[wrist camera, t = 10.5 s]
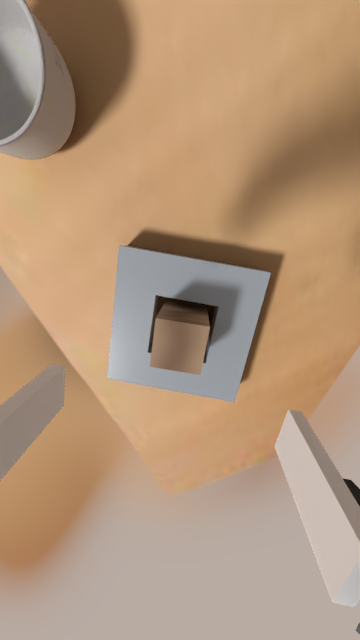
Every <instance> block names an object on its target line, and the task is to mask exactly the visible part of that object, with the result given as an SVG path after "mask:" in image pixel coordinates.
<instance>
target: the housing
mask: <svg viewBox="0 0 360 640" xmlns="http://www.w3.org/2000/svg"><path fill="white" fill-rule="evenodd" d="M270 275H271V273H270V272H268V271H265V270H260V269H255V268H249V267H244V266H238V265H232V264H227V263H221V262H216V261H210V260H204V259H199V258H193V257H188V256H182V255H177V254H171V253H165V252H160V251H154V250H149V249H143V248H138V247H132V246H119V254H118V265H117V276H116V287H115V298H114V310H113V321H112V332H111V343H110V355H109V366H108V377H107V379H112V380H117V381H123V382H128V383H134V384H139V385H144V386H150V387H155V388H160V389H166V390H171V391H176V392H182V393H187V394H192V395H198V396H203V397H208V398H214V399H219V400H225V401H230V402H235V399H236V395H237V392H238V388H239V385H240V381H241V378H242V374H243V371H244V367H245V364H246V360H247V356H248V353H249V349H250V346H251V342H252V339H253V335H254V332H255V328H256V325H257V321H258V317H259V314H260V310H261V307H262V303H263V300H264V296H265V293H266V289H267V286H268V282H269V278H270ZM159 296H163V297H169V298H174V299H180V300H185V301H191V302H196V303H202V304H207V305H213V306H215V310H214V314H213V319H212V323H211V328H210V332H209V337H208V342H207V346H206V351H205V355H204V360H203V365H202V370H201V375H197V374H191V373H185V372H179V371H173V370H166V369H160V368H154V367H150V360H151V352H152V344H153V343H152V340H153V333H154V326H155V319H156V313H157V306H158V299H159Z"/></svg>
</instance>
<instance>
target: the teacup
mask: <svg viewBox="0 0 360 640" xmlns="http://www.w3.org/2000/svg"><path fill="white" fill-rule="evenodd" d="M75 110H76V102H75V92H74V87H73V83H72V79H71V76H70V73H69V71H68V68H67V66H66V63H65V61H64V59H63V57H62V55H61V53H60V52H59V50H58V48H57V47H56V45H55V44H54V42H53V41H52V39H51V37H50V36H49V34H48V33H47V32H46V30H45V29H44V27H43V26H42V25H41V23H40V22H39V20H38V19H37V18H36V16H35V15H34V14H33V12H32V11H31V10H30V8H29V7H28V5H27V3H26V1H25V0H0V153H3V154H6V155H10V156H13V157H17V158H21V159H28V160H35V159H42V158H46V157H48V156H50V155H52V154H54V153H56V152H57V151H58V150H59V149H60V148H61V147H62V146H63V145H64V144H65V142H66V141H67V139H68V138H69V136H70V133H71V131H72V128H73V124H74V120H75Z"/></svg>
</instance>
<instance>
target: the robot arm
mask: <svg viewBox="0 0 360 640" xmlns="http://www.w3.org/2000/svg"><path fill="white" fill-rule="evenodd" d="M64 378H65V366H61V365H56V364H51V365H50V366H49V367H47V368H46V369H45V370H44V371H42V372H41V373H40V374H39V375H38V376H36V377H35V378H34V379H32V380H31V381H30V382H29V383H28V384H26V385H25V386H24V387H23V388H22V389H20V390H19V391H18V392H17V393H15V394H14V395H13V396H11V397H10V398H9V399H8V400H7V401H5V402H4V403H3V404H2V405H0V481H1V479H2V478H3V477H4V476H5V475H6V473H7V472H8V471H9V470H10V469H11V467H12V466H13V465H14V464H15V463H16V461H17V460H18V459H19V458H20V457H21V455H22V454H23V453H24V452H25V451H26V450H27V448H28V447H29V446H30V445H31V444H32V442H33V441H34V440H35V439H36V438H37V437H38V435H39V434H40V433H41V432H42V431H43V429H44V428H45V427H46V426H47V424H48V423H49V422H50V421H51V420H52V419H53V418H54V416H55V415H56V414H57V413H58V412H59V410H60V409H61V408H62V407H63V406H64ZM275 449H276V452H277V455H278V457H279V460H280V463H281V465H282V468H283V471H284V474H285V476H286V479H287V482H288V484H289V487H290V490H291V493H292V495H293V498H294V501H295V503H296V506H297V509H298V511H299V514H300V517H301V520H302V522H303V525H304V528H305V530H306V533H307V536H308V538H309V541H310V544H311V547H312V549H313V552H314V555H315V558H316V560H317V563H318V566H319V568H320V571H321V574H322V576H323V579H324V582H325V585H326V587H327V590H328V593H329V595H330V598H331V601H332V602H333V603H337V604H342V605H347V606H352V607H355V605H356V604H357V603H358V601H359V600H360V489H359V488H358V487H357V486H356V485H355V484H354V483H353V482H352V481H351V480H348V479H342V477H341V475H340V474H339V472H338V470H337V469H336V467H335V465H334V464H333V462H332V461H331V459H330V457H329V456H328V454H327V453H326V451H325V449H324V447H323V446H322V444H321V442H320V441H319V439H318V438H317V436H316V434H315V433H314V431H313V429H312V428H311V426H310V425H309V423H308V421H307V419H306V418H305V416H304V415H303V413H302V412H300V411H295V410H290V409H288V412H287V415H286V417H285V420H284V423H283V425H282V428H281V431H280V433H279V436H278V439H277V441H276V444H275ZM356 631H357V632H358V633H359V634H360V623H359V625H358V627H357V629H356Z"/></svg>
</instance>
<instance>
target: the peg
mask: <svg viewBox="0 0 360 640" xmlns="http://www.w3.org/2000/svg"><path fill="white" fill-rule="evenodd" d="M209 330H210V324H209V318H208V312H207V306H203V305H197V304H190V303H184V302H178V301H172V300H166V301H165V303H164V304H163V306H162V308H161V310H160V311H159V313H158V315H157V317H156V320H155V328H154V336H153V344H152V352H151V360H150V367H154V368H160V369H166V370H173V371H179V372H185V373H191V374H197V375H201V370H202V365H203V360H204V355H205V350H206V345H207V340H208V335H209Z"/></svg>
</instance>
